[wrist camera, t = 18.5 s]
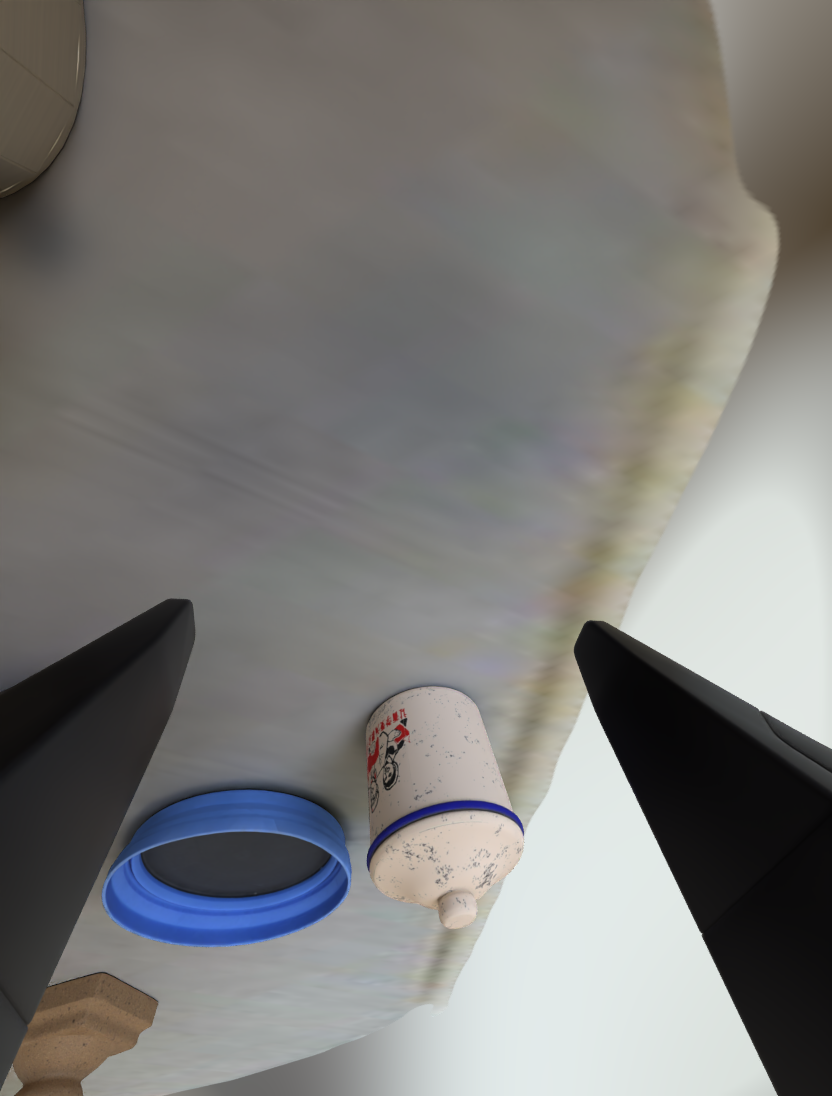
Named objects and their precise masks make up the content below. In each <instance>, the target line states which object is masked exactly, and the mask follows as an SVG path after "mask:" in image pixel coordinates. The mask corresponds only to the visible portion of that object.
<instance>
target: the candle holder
mask: <svg viewBox="0 0 832 1096" xmlns="http://www.w3.org/2000/svg"><path fill="white" fill-rule="evenodd" d="M157 1005H158V1002H157V1001H156V1000H154V999H153V998H151V997H149V996H147V995H145V994H144V993H142V992H140V991H138V990H136V989H134V988H133V987H131V986H129V985H127V984H125V983H123V982H121V981H120V980H118V979H116V978H114V977H112V976H110V975H107V974H104V973H98V974H94V975H90V976H86V977H83V978H79V979H76V980H72V981H69V982H65V983H62V984H58V985H55V986H52V987H48V988H46V990H45V992H44V994H43V997H42V999H41V1001H40V1003H39V1005H38V1008H37V1010H36V1012H35V1014H34V1016H33V1019H32V1021H31V1022H30V1024H28V1025H27V1026H28V1030H27V1033H26V1035H25V1037H24V1039H23V1041H22V1044H21V1046H20V1048H19V1050H18V1052H17V1055H16V1057H15V1059H14V1061H13V1066H14V1070H15V1073H16V1074H17V1076H18V1078H19V1079H20V1080H21V1082H22V1083H23V1087H22V1089H21V1090H20V1091H19V1092H18V1093H17V1094H16V1095H14V1096H83V1091H82V1087H81V1081H82V1080H83V1079H84V1078H85V1077H86V1076H88V1075H89V1074H90V1073H91V1072H93V1071H94V1070H95V1069H96V1068H98V1067H99V1066H100V1065H101V1064H102V1063H103V1062H104V1061H105V1060H106V1058H107V1057H109V1056H112V1055H115V1054H118V1053H121V1052H124V1051H126V1050H129V1049H131V1048H133V1047H134V1046H135V1045H136V1043H137V1040H138V1037H139V1034H140V1033H141V1032H142V1031H143V1030H145V1029H147V1028H149V1027H150V1026H151V1025H152V1022H153V1019H154V1016H155V1012H156V1009H157Z"/></svg>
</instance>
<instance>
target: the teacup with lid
mask: <svg viewBox="0 0 832 1096" xmlns="http://www.w3.org/2000/svg"><path fill="white" fill-rule="evenodd" d="M366 752H367V775H368V798H369V822H370V845H371V846H370V848H369V851H368V854H367V867H368V870H369V872H370V876H371V879H372V881H373V882H374V884H375V886H376V887H377V888H378V889H379V890H380V891H381V892H382V893H383V894H385V895H386V896H388V897H390V898H392V899H395V900H398V901H402V902H407V903H417V904H420V905H422V906H424V907H427V908H430V909H435V910H438V911H439V918H440V921H441V923H442V924H443V925H444V926H445V927H446V928H450V929H459V928H463V927H466V926H468V925H470V924H471V923H473V922H474V921H475V919H476V917H477V914H478V908H477V904H476V900H478V899H479V898H480V897H482V896H483V895H484V894H485V893H486V892H487V891H488V890H489V889H490V887H491V886H492V885H494V884H495V883H497V882H498V881H500V880H501V879H503V878H504V877H505V876H507V875H508V873H510V872H511V871H512V870H513V869H514V867H515V866H516V865H517V863H518V862H519V860H520V858H521V855H522V852H523V848H524V847H523V846H524V830H523V826H522V823H521V821H520V819H519V818H518V817H517V816H516V815H515V814H514V812H513V809H512V807H511V804H510V801H509V798H508V795H507V792H506V789H505V786H504V783H503V780H502V777H501V774H500V771H499V768H498V765H497V762H496V759H495V756H494V753H493V750H492V747H491V745H490V742H489V739H488V736H487V733H486V730H485V727H484V724H483V721H482V718H481V715H480V712H479V710H478V708H477V706H476V704H475V703H474V702H473V701H472V700H471V699H470V698H469V697H468V696H466V695H465V694H463V693H461V692H459V691H456V690H454V689H450V688H446V687H437V686H428V687H420V688H415V689H411V690H408V691H405V692H402V693H400V694H398V695H395V696H394V697H392V698H390V699H389V700H387V701H386V702H385V703H383V704H382V705H381V706H380V707H379V708H378V709H377V710H376V711H375V712H374V714H373V715H372V717H371V719H370V720H369V723H368V725H367V729H366Z"/></svg>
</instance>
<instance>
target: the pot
mask: <svg viewBox="0 0 832 1096" xmlns="http://www.w3.org/2000/svg"><path fill="white" fill-rule="evenodd" d="M85 55H86V29H85V19H84V8H83V0H0V198H2V197H5V196H7V195H10V194H13V193H15V192H16V191H18V190H20V189H21V188H23V187H24V186H26V185H28V184H29V183H31V182H33V181H34V180H35V179H36V178H37V177H38V176H39V175H40V174H41V173H42V172H43V171H44V170H45V169H46V168H47V167H49V166H50V164H51V163H52V161H53V160H54V159H55V157H56V156H57V154H58V153H59V151H60V150H61V149H62V147H63V145H64V143H65V141H66V139H67V137H68V135H69V133H70V130H71V128H72V126H73V124H74V121H75V117H76V114H77V110H78V107H79V103H80V99H81V95H82V88H83V80H84V73H85Z"/></svg>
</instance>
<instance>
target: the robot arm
mask: <svg viewBox="0 0 832 1096" xmlns="http://www.w3.org/2000/svg"><path fill="white" fill-rule="evenodd" d="M194 640H195V622H194V612H193V604H192V602H191V601H190V600H188V599H167V600H165V601H163V602H161V603H160V604H158V605H156V606H154V607H153V608H151V609H149V610H147V611H146V612H144V613H142V614H140V615H139V616H137V617H135V618H133V619H131V620H130V621H128V622H126V623H124V624H123V625H121V626H119V627H117V628H116V629H114V630H112V631H110V632H109V633H107V634H105V635H103V636H102V637H100V638H98V639H96V640H94V641H93V642H91V643H89V644H87V645H86V646H84V647H82V648H80V649H79V650H77V651H75V652H73V653H72V654H70V655H68V656H66V657H65V658H63V659H61V660H59V661H57V662H56V663H54V664H52V665H50V666H49V667H47V668H45V669H43V670H42V671H40V672H38V673H36V674H35V675H33V676H31V677H29V678H27V679H26V680H24V681H22V682H20V683H19V684H17V685H15V686H13V687H12V688H10V689H7V690H5V691H2V692H0V1090H1V1088H2V1085H3V1083H4V1081H5V1079H6V1077H7V1074H8V1072H9V1070H10V1068H11V1066H12V1063H13V1061H14V1059H15V1057H16V1055H17V1052H18V1050H19V1048H20V1046H21V1044H22V1041H23V1039H24V1037H25V1035H26V1033H27V1030H28V1026H27V1025H28V1024H30V1022H31V1021H32V1019H33V1016H34V1014H35V1012H36V1010H37V1008H38V1005H39V1003H40V1001H41V999H42V997H43V994H44V992H45V990H46V988H47V986H48V983H49V981H50V979H51V977H52V975H53V973H54V970H55V968H56V966H57V964H58V962H59V959H60V957H61V955H62V953H63V951H64V948H65V946H66V944H67V942H68V940H69V937H70V935H71V933H72V931H73V929H74V926H75V924H76V922H77V920H78V918H79V915H80V913H81V911H82V909H83V907H84V904H85V902H86V900H87V898H88V896H89V893H90V891H91V889H92V887H93V885H94V882H95V880H96V878H97V876H98V874H99V871H100V869H101V867H102V865H103V863H104V860H105V858H106V856H107V854H108V852H109V849H110V847H111V845H112V843H113V841H114V838H115V836H116V834H117V832H118V830H119V827H120V825H121V823H122V821H123V819H124V817H125V814H126V812H127V810H128V808H129V806H130V803H131V801H132V799H133V797H134V795H135V792H136V790H137V788H138V786H139V784H140V781H141V779H142V777H143V775H144V773H145V770H146V768H147V766H148V764H149V762H150V759H151V757H152V755H153V753H154V751H155V748H156V746H157V744H158V742H159V740H160V737H161V735H162V733H163V731H164V729H165V726H166V724H167V722H168V720H169V717H170V715H171V712H172V710H173V707H174V704H175V701H176V698H177V695H178V692H179V689H180V685H181V682H182V679H183V676H184V673H185V670H186V667H187V663H188V660H189V657H190V654H191V651H192V648H193V644H194ZM574 655H575V658H576V661H577V664H578V666H579V669H580V672H581V675H582V677H583V680H584V683H585V685H586V688H587V691H588V694H589V696H590V699H591V702H592V704H593V707H594V710H595V712H596V714H597V716H598V719H599V721H600V723H601V725H602V727H603V729H604V731H605V734H606V736H607V738H608V740H609V742H610V744H611V746H612V748H613V750H614V752H615V754H616V757H617V759H618V761H619V763H620V765H621V767H622V769H623V771H624V773H625V775H626V778H627V780H628V782H629V784H630V786H631V788H632V790H633V792H634V794H635V796H636V798H637V801H638V803H639V805H640V807H641V809H642V811H643V813H644V815H645V817H646V819H647V821H648V824H649V826H650V828H651V830H652V832H653V834H654V836H655V838H656V840H657V842H658V844H659V847H660V849H661V851H662V853H663V855H664V857H665V859H666V861H667V863H668V866H669V867H670V870H671V872H672V874H673V876H674V878H675V880H676V882H677V884H678V886H679V889H680V891H681V893H682V895H683V897H684V899H685V901H686V903H687V905H688V907H689V910H690V912H691V914H692V916H693V918H694V920H695V922H696V924H697V926H698V928H699V931H700V932H701V933H703V934H702V937H703V940H704V942H705V944H706V945H707V948H708V950H709V952H710V954H711V956H712V959H713V961H714V963H715V965H716V967H717V969H718V971H719V973H720V975H721V977H722V979H723V981H724V984H725V986H726V988H727V990H728V992H729V994H730V996H731V998H732V1001H733V1003H734V1005H735V1007H736V1009H737V1011H738V1013H739V1015H740V1017H741V1019H742V1022H743V1024H744V1025H745V1028H746V1030H747V1032H748V1034H749V1036H750V1038H751V1040H752V1043H753V1045H754V1047H755V1049H756V1051H757V1053H758V1055H759V1057H760V1059H761V1061H762V1063H763V1066H764V1068H765V1070H766V1072H767V1074H768V1076H769V1078H770V1080H771V1082H772V1084H773V1087H774V1089H775V1091H776V1093H777V1095H778V1096H832V749H830V748H828V747H826V746H824V745H823V744H821V743H819V742H817V741H815V740H813V739H811V738H810V737H808V736H806V735H804V734H802V733H801V732H799V731H797V730H795V729H793V728H791V727H790V726H788V725H786V724H784V723H783V722H780V721H779V720H777V719H775V718H774V717H772V716H770V715H768V714H767V713H765V712H763V711H759V710H758V709H757V708H756V707H754V706H752V705H751V704H749V703H747V702H745V701H744V700H742V699H740V698H738V697H737V696H735V695H733V694H731V693H729V692H728V691H726V690H724V689H722V688H721V687H719V686H717V685H715V684H713V683H712V682H710V681H708V680H707V679H705V678H703V677H701V676H700V675H698V674H696V673H694V672H692V671H691V670H689V669H687V668H685V667H684V666H682V665H680V664H678V663H676V662H675V661H673V660H671V659H670V658H668V657H666V656H664V655H662V654H661V653H659V652H657V651H655V650H653V649H652V648H650V647H648V646H647V645H645V644H643V643H641V642H640V641H638V640H636V639H634V638H632V637H631V636H629V635H627V634H626V633H624V632H622V631H620V630H618V629H617V628H615V627H613V626H611V625H610V624H608V623H606V622H604V621H591V620H590V621H587V622H586V623H585V624H584V626H583V628H582V630H581V632H580V634H579V637H578V639H577V641H576V643H575V646H574Z"/></svg>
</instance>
